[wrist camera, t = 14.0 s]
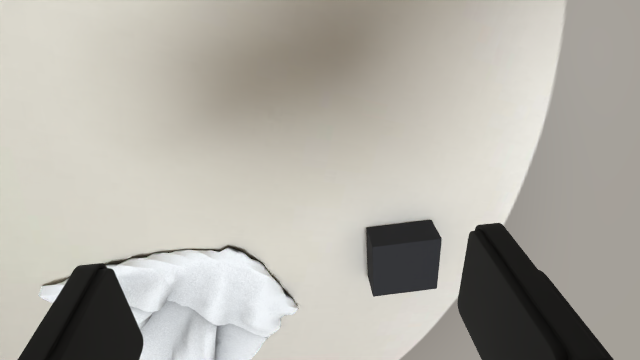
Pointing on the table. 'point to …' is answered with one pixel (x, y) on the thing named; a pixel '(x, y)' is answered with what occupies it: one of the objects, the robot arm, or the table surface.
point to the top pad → (403, 257)
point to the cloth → (199, 303)
